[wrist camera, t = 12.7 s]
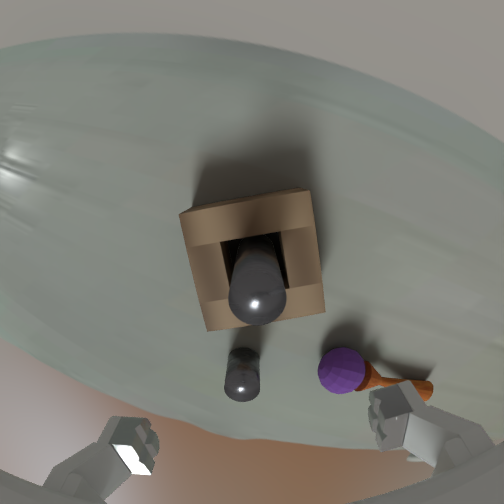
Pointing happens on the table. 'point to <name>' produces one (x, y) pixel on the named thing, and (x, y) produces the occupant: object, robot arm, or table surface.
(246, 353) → the short pin
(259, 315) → the long pin
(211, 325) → the hole block
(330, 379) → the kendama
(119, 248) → the table surface
